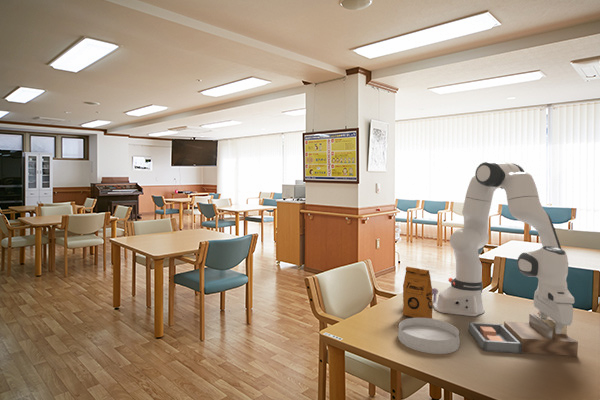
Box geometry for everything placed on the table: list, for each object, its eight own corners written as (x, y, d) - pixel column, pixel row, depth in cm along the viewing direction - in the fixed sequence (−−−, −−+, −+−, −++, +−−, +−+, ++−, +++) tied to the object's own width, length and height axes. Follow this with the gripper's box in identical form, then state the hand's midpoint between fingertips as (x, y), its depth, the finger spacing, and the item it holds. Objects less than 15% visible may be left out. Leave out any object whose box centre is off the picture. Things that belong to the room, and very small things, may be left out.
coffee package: (425, 324, 157) (426, 272, 155) (399, 316, 165) (400, 267, 164) (436, 318, 163) (437, 268, 162) (410, 310, 172) (411, 264, 171)
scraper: (547, 338, 131) (547, 327, 130) (529, 323, 145) (529, 313, 144) (575, 340, 129) (575, 329, 129) (554, 325, 143) (554, 315, 143)
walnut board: (521, 352, 131) (522, 338, 131) (503, 333, 147) (504, 321, 147) (577, 356, 129) (578, 342, 128) (553, 336, 144) (553, 324, 144)
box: (483, 350, 132) (483, 341, 132) (468, 330, 150) (468, 322, 150) (521, 353, 130) (521, 343, 130) (501, 332, 148) (501, 324, 148)
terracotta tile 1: (503, 341, 133) (503, 348, 133) (499, 336, 137) (499, 342, 138) (490, 340, 134) (490, 347, 134) (486, 335, 138) (486, 341, 138)
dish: (429, 359, 126) (429, 345, 126) (385, 335, 145) (386, 323, 145) (473, 346, 136) (473, 333, 136) (427, 325, 156) (427, 314, 155)
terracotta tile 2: (496, 331, 142) (496, 338, 142) (491, 327, 146) (491, 333, 146) (483, 331, 142) (483, 337, 142) (479, 326, 147) (479, 332, 147)
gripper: (529, 283, 147) (528, 317, 148) (557, 299, 127) (555, 338, 127) (546, 283, 146) (545, 318, 147) (577, 300, 126) (575, 340, 126)
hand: (550, 328), depth 137 cm, fingers open, 8 cm apart
